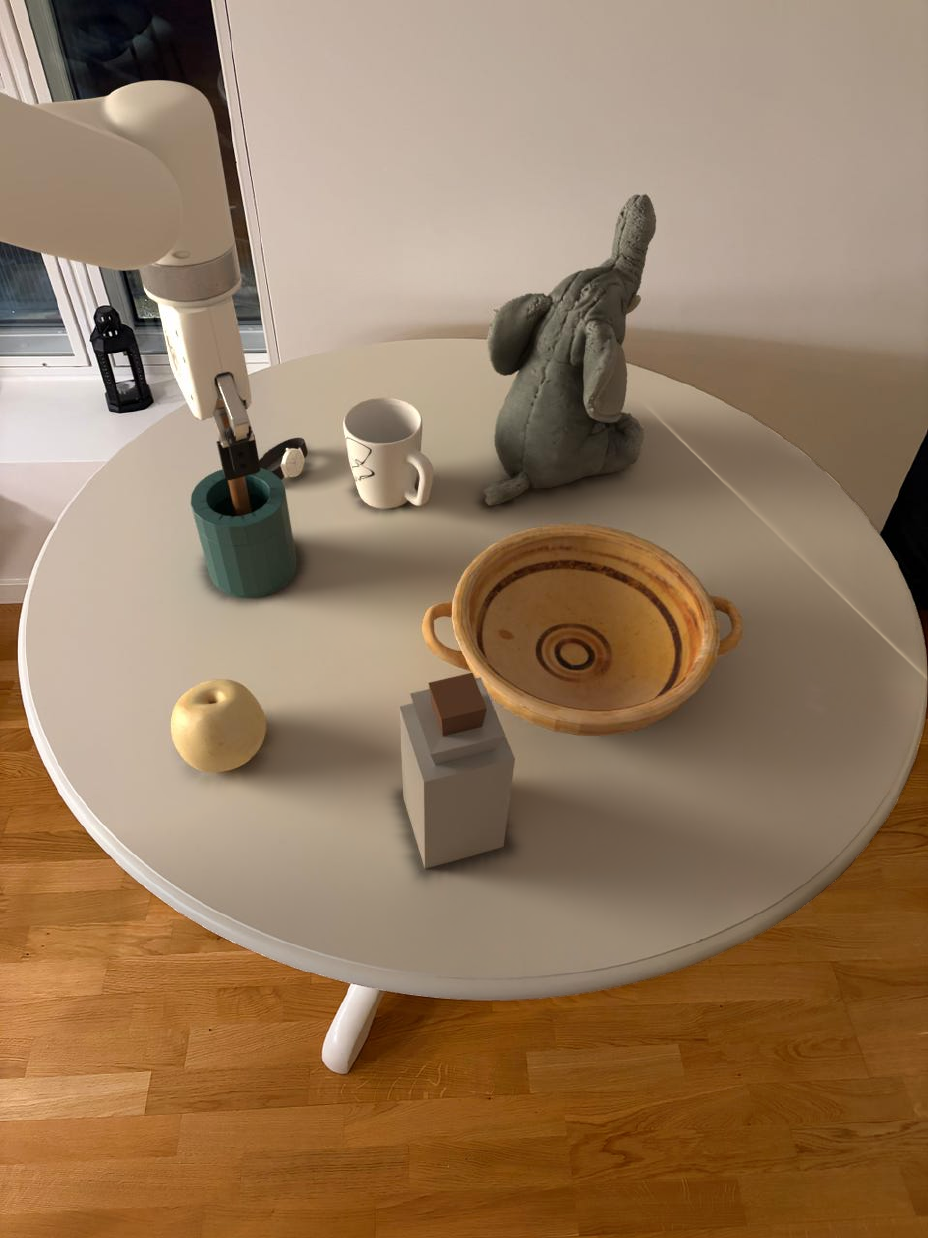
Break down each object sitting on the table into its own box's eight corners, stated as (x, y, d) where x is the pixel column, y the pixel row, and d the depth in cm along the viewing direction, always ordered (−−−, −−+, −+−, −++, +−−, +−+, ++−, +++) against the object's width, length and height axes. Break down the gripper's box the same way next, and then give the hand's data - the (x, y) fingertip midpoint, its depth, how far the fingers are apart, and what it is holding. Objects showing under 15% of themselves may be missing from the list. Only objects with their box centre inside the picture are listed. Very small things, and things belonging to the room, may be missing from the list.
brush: (242, 579, 93) (206, 418, 78) (232, 556, 95) (194, 396, 80) (275, 568, 94) (246, 408, 79) (265, 546, 96) (234, 387, 81)
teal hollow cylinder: (223, 609, 91) (205, 537, 83) (199, 552, 96) (180, 480, 89) (308, 582, 94) (297, 510, 86) (280, 528, 99) (268, 456, 92)
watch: (279, 495, 103) (275, 470, 100) (246, 481, 104) (241, 456, 101) (318, 458, 107) (315, 433, 104) (286, 445, 109) (283, 421, 106)
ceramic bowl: (696, 574, 96) (713, 518, 90) (758, 769, 80) (785, 717, 74) (419, 580, 94) (418, 524, 88) (426, 781, 78) (426, 729, 72)
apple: (204, 805, 76) (150, 739, 72) (202, 755, 83) (154, 693, 79) (285, 758, 76) (237, 691, 73) (277, 713, 83) (232, 649, 80)
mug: (456, 504, 102) (458, 432, 95) (403, 540, 98) (401, 468, 91) (387, 458, 108) (384, 387, 100) (334, 491, 103) (326, 419, 96)
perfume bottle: (403, 799, 77) (397, 669, 64) (478, 779, 79) (488, 648, 65) (424, 869, 73) (423, 746, 59) (503, 847, 74) (519, 722, 61)
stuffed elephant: (617, 399, 117) (656, 186, 97) (650, 506, 103) (704, 285, 83) (470, 402, 116) (478, 187, 95) (484, 511, 102) (497, 287, 81)
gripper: (116, 227, 74) (163, 402, 87) (169, 331, 64) (213, 512, 77) (206, 211, 76) (239, 384, 89) (271, 309, 66) (297, 488, 79)
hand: (227, 443), depth 83 cm, fingers open, 9 cm apart
